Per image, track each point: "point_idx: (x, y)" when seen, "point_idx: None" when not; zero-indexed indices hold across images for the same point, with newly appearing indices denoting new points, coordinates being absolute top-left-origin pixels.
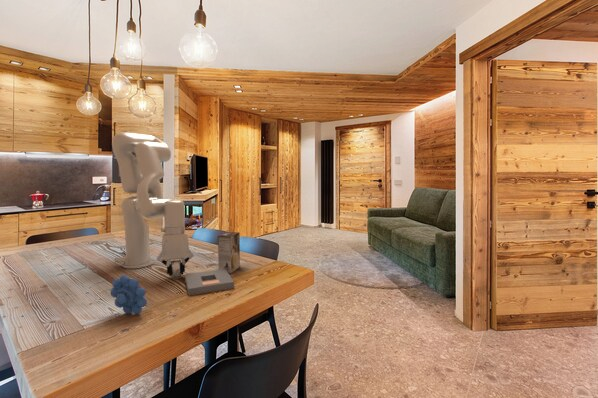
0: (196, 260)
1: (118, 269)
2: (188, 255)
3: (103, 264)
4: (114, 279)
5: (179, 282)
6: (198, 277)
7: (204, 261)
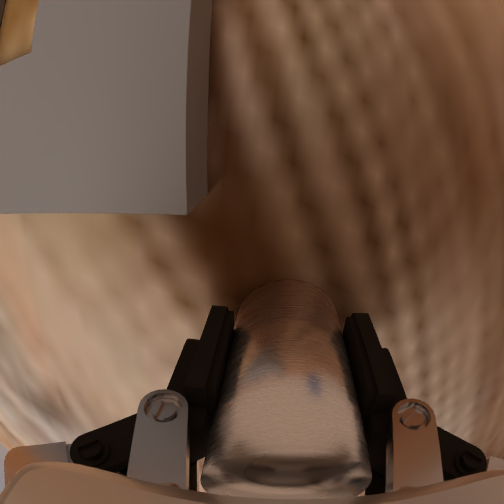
0: None
1: None
2: (15, 477)
3: None
4: None
5: (274, 146)
6: (53, 25)
7: None
